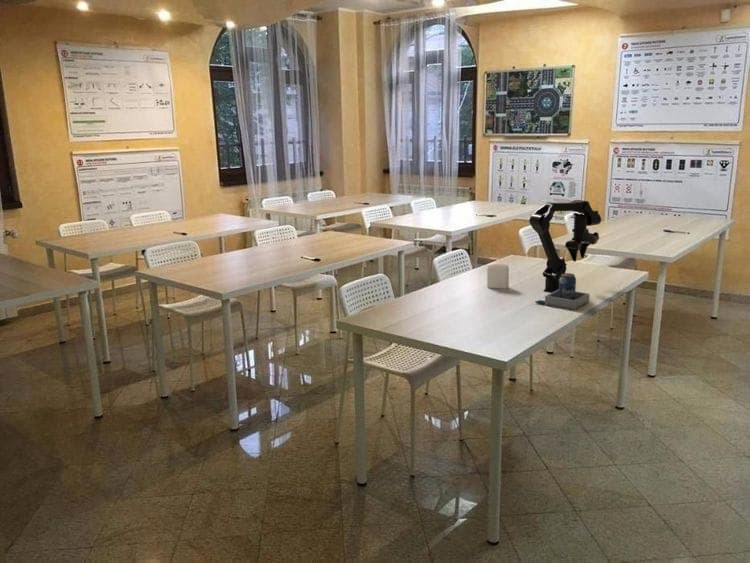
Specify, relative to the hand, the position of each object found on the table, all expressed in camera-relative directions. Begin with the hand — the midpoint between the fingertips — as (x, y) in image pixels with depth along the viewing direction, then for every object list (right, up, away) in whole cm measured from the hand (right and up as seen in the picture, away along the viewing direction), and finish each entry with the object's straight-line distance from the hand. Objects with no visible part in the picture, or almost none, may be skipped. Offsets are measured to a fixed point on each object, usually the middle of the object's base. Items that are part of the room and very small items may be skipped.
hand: (578, 259), depth 300 cm
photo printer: (-37, -14, +5) cm, 40 cm away
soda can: (-13, -19, -24) cm, 33 cm away
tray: (-13, -20, -24) cm, 34 cm away
